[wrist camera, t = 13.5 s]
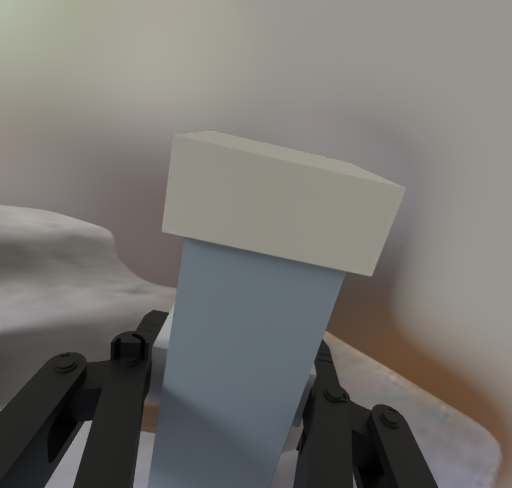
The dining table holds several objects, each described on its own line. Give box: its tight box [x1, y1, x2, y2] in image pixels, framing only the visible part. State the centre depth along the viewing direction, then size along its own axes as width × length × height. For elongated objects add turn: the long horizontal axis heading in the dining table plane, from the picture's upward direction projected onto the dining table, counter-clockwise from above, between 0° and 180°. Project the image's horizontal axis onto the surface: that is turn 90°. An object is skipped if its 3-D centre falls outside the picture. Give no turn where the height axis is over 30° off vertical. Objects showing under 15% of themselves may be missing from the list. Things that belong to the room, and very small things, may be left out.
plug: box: [148, 131, 406, 488], centre depth 14 cm, size 6×6×20 cm
